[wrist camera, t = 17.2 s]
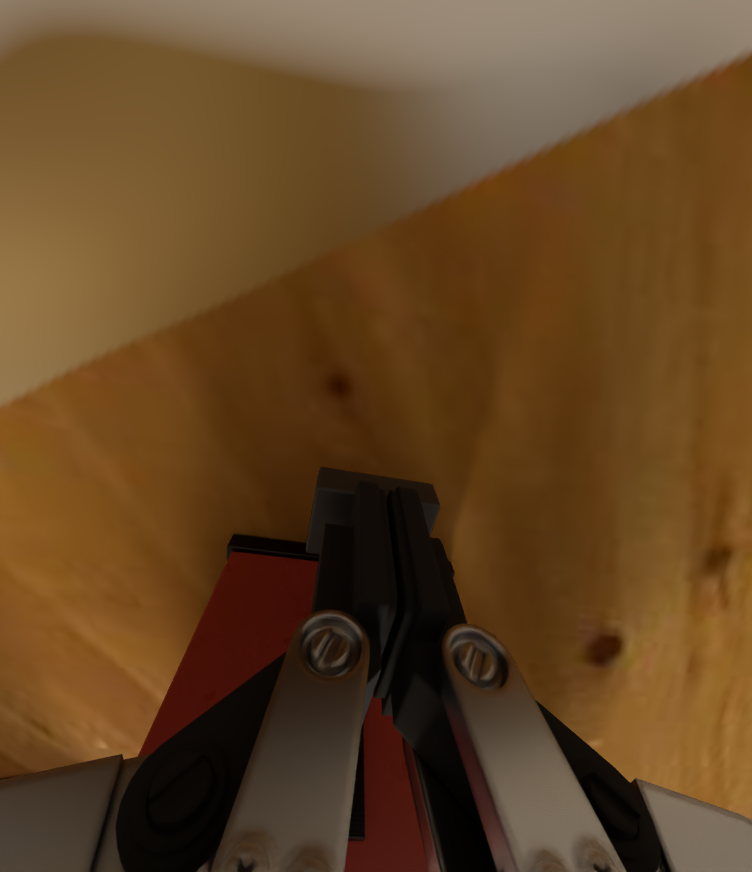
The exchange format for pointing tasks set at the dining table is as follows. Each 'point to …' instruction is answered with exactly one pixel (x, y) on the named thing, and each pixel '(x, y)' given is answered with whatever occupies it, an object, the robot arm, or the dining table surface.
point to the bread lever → (339, 496)
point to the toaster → (256, 648)
